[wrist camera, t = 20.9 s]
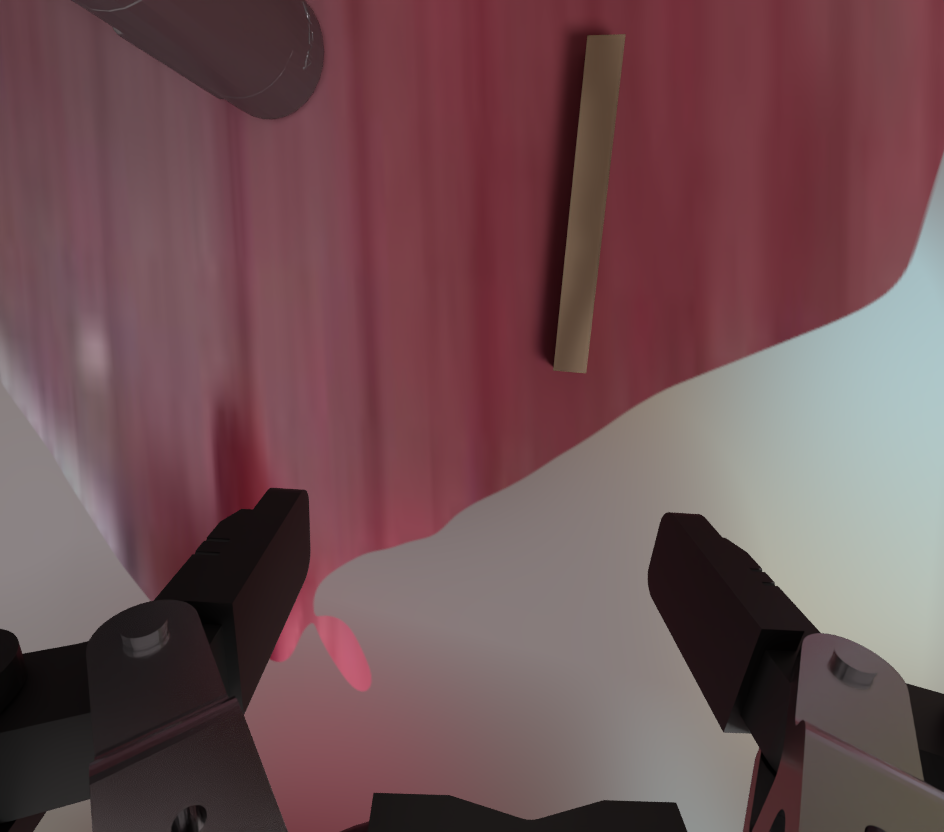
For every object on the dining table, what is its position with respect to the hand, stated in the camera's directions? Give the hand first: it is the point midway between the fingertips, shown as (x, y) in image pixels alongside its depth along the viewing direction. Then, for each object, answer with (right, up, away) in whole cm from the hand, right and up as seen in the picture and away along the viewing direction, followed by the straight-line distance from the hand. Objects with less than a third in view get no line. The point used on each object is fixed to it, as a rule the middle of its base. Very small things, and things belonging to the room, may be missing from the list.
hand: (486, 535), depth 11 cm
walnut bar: (+8, +17, +25) cm, 32 cm away
